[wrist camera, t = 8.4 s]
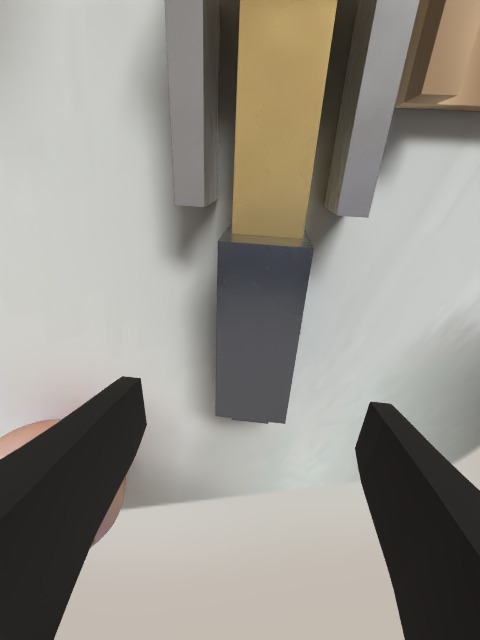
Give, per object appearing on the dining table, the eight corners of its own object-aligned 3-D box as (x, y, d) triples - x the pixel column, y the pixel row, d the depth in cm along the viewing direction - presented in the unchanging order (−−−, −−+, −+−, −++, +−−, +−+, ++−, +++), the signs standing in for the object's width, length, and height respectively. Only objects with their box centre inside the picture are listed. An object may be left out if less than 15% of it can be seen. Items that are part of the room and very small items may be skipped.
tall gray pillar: (302, 227, 15) (313, 248, 11) (279, 394, 20) (280, 450, 16) (232, 222, 15) (217, 241, 11) (226, 388, 20) (215, 442, 16)
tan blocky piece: (400, -88, 10) (496, -280, 6) (338, 229, 15) (365, 254, 10) (195, -88, 10) (142, -265, 6) (199, 220, 15) (171, 240, 11)
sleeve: (389, 8, 11) (431, -48, 8) (349, 208, 14) (368, 217, 11) (189, 4, 12) (162, -50, 9) (193, 198, 15) (174, 205, 12)
